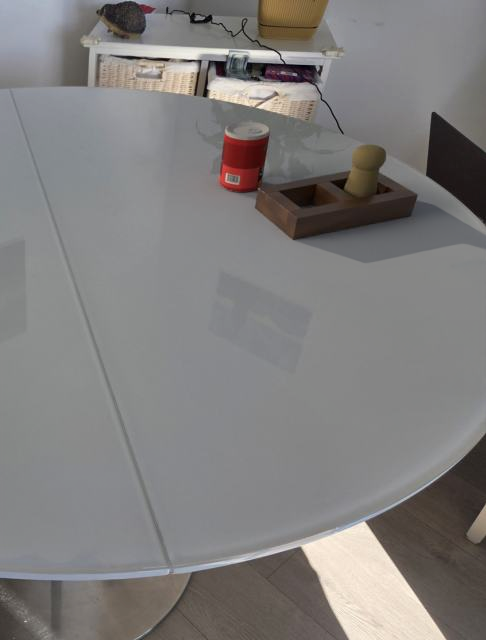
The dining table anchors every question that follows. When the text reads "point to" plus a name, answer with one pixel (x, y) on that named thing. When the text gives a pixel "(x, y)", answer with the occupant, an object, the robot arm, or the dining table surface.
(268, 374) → the dining table surface
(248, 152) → the canned food
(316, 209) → the caddy
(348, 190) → the tan pawn
